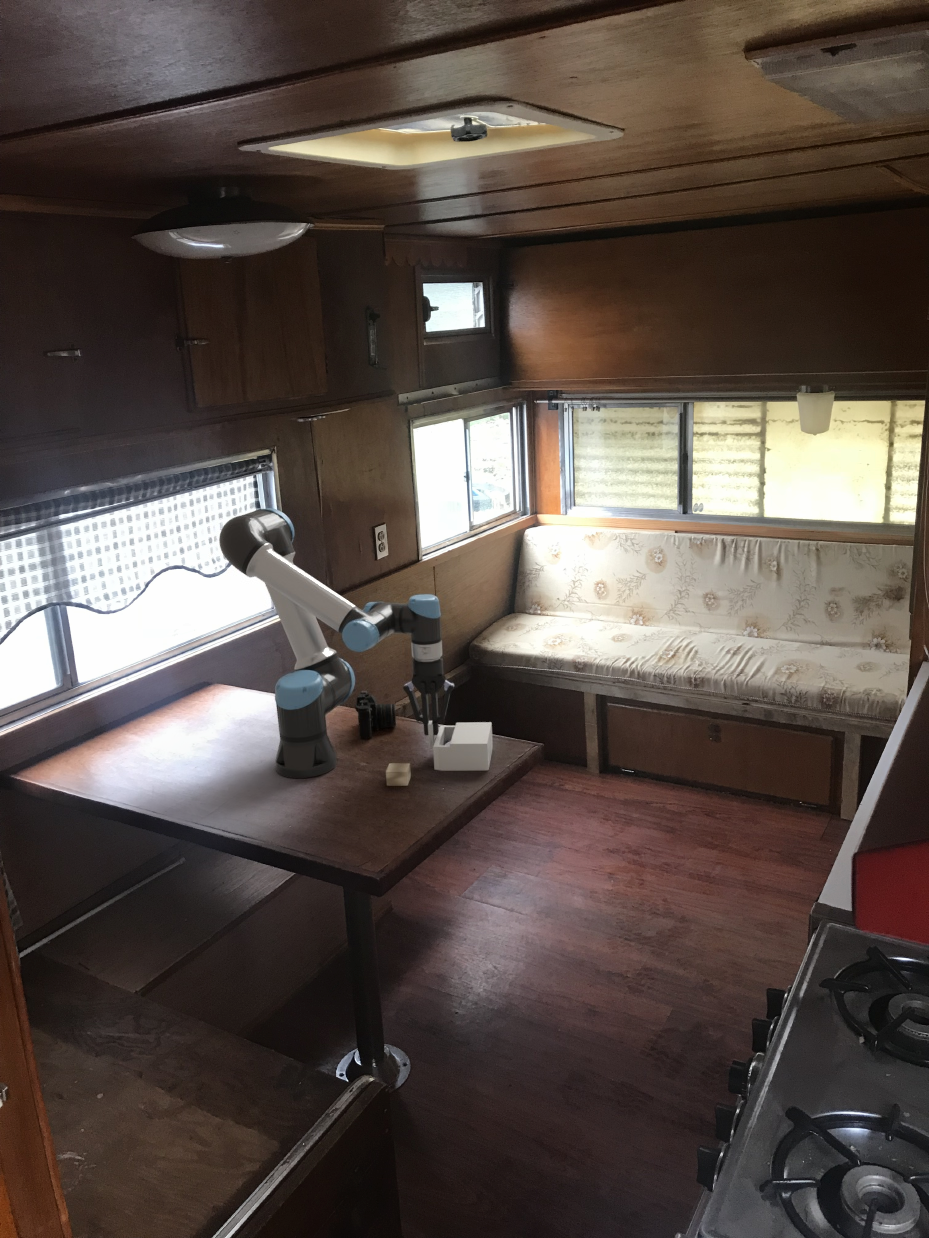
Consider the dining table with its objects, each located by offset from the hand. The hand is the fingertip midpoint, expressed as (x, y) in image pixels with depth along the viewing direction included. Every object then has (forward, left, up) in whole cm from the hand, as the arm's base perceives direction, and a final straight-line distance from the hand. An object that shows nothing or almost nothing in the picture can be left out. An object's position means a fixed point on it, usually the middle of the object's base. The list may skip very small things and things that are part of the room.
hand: (432, 746), depth 249 cm
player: (+9, -2, -3) cm, 9 cm away
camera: (-18, +18, -3) cm, 26 cm away
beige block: (-6, -15, -3) cm, 16 cm away
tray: (+7, -2, -2) cm, 8 cm away
